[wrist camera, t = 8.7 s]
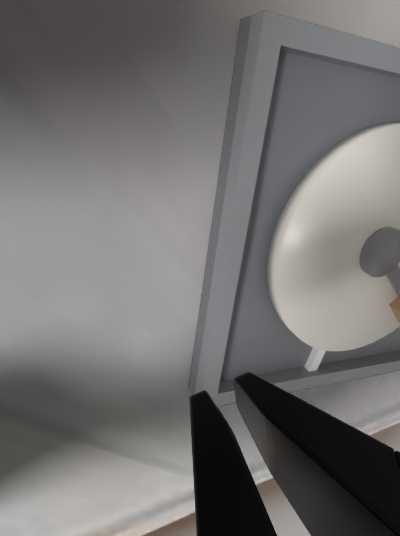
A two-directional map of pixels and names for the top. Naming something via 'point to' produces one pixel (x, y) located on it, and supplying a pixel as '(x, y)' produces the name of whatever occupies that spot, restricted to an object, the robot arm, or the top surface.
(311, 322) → the dial
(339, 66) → the dial board
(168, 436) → the top surface
